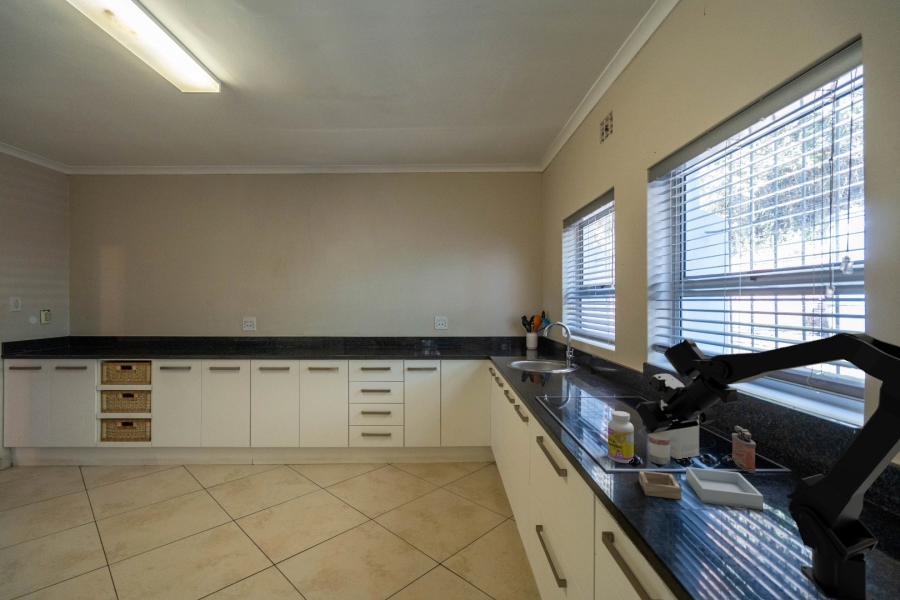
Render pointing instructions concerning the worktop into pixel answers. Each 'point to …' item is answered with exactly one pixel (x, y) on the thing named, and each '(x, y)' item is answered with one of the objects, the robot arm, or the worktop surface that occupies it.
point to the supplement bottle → (620, 437)
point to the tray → (724, 488)
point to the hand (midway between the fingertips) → (654, 430)
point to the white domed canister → (659, 447)
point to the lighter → (744, 450)
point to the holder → (659, 484)
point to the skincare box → (684, 441)
